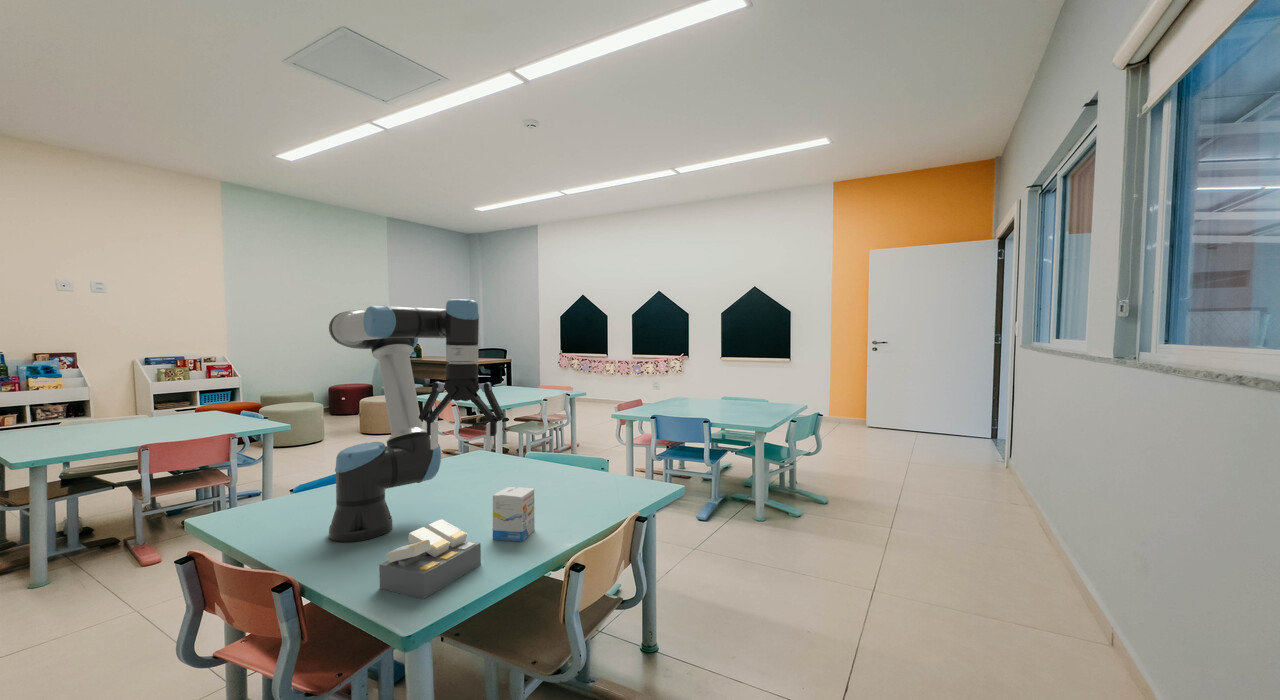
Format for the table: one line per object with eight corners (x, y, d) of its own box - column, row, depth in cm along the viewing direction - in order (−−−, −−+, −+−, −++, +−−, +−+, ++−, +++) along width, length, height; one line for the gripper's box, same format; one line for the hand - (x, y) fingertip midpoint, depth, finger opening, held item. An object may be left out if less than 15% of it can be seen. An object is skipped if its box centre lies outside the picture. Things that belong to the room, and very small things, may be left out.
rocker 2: (407, 540, 111) (409, 532, 111) (421, 534, 115) (423, 526, 115) (434, 557, 108) (436, 548, 108) (448, 550, 112) (450, 541, 112)
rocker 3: (426, 532, 116) (428, 523, 116) (439, 526, 120) (441, 518, 120) (453, 547, 114) (455, 539, 113) (465, 541, 117) (467, 533, 117)
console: (379, 588, 106) (379, 559, 106) (440, 556, 121) (439, 531, 121) (424, 598, 101) (423, 568, 101) (480, 564, 117) (480, 538, 117)
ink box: (522, 542, 130) (521, 496, 130) (491, 539, 132) (491, 494, 132) (535, 530, 139) (535, 487, 139) (506, 528, 140) (506, 485, 140)
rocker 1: (388, 562, 106) (386, 552, 106) (404, 555, 110) (401, 545, 110) (416, 556, 103) (414, 546, 103) (431, 548, 107) (428, 539, 107)
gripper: (404, 362, 121) (404, 451, 122) (509, 364, 121) (508, 452, 122) (418, 361, 129) (417, 444, 129) (516, 362, 129) (516, 446, 129)
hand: (461, 448), depth 125 cm, fingers open, 13 cm apart
